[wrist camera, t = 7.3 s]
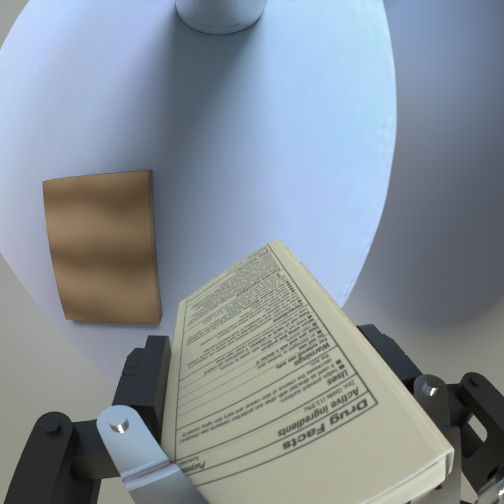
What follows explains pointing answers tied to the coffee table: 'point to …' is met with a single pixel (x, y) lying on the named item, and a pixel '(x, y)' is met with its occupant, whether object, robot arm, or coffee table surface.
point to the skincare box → (290, 397)
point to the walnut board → (104, 246)
